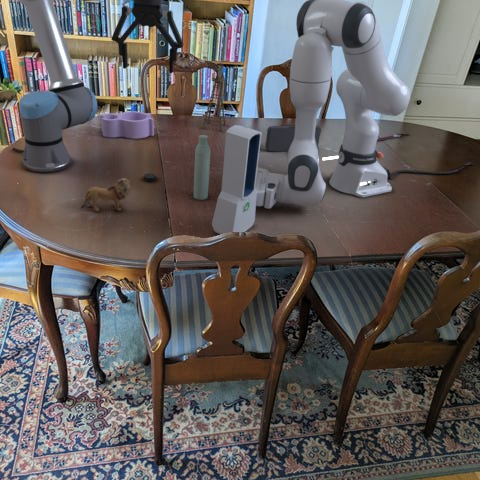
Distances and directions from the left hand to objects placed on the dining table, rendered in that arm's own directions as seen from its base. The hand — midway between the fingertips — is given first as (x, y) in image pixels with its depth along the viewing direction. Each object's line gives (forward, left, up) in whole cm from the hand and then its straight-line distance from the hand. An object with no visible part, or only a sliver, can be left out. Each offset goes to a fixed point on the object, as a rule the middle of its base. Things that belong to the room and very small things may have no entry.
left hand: (148, 70), depth 138 cm
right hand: (+27, -6, -29) cm, 41 cm away
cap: (0, 0, -34) cm, 34 cm away
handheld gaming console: (+47, +44, -36) cm, 73 cm away
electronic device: (+32, -24, -36) cm, 53 cm away
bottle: (+19, -7, -36) cm, 41 cm away
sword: (+91, +73, -36) cm, 122 cm away
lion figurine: (-6, -22, -36) cm, 42 cm away
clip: (-20, +38, -36) cm, 56 cm away
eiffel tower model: (+12, +59, -36) cm, 70 cm away
